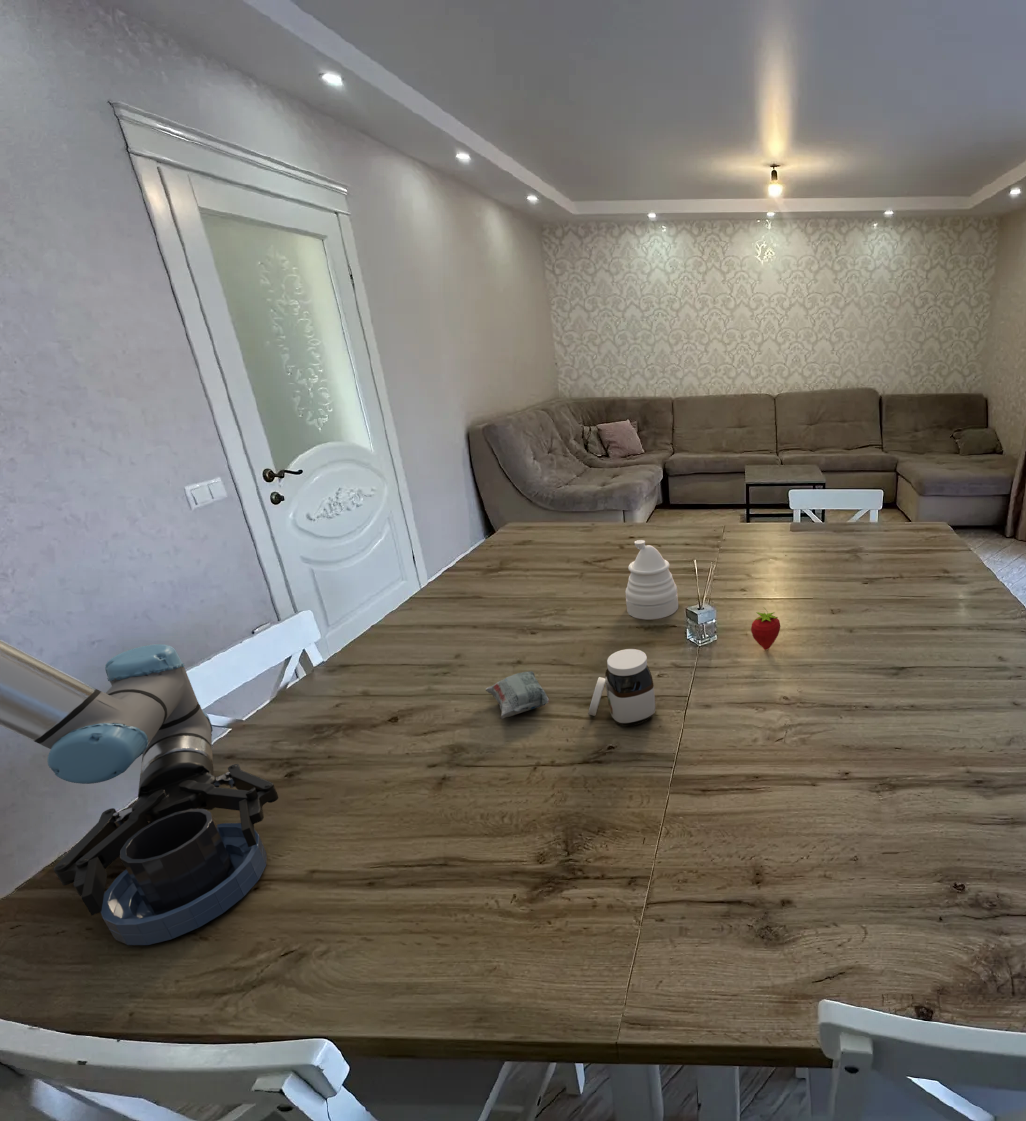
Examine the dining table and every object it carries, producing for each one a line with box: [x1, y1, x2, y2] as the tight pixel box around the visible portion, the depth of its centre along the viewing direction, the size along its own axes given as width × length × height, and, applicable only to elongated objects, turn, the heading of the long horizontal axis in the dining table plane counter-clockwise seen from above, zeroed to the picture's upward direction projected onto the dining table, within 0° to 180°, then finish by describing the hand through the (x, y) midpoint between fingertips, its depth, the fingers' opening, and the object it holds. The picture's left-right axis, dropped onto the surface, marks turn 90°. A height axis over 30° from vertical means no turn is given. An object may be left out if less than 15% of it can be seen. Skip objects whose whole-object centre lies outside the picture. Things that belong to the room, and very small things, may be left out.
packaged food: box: [485, 670, 550, 720], centre depth 108 cm, size 9×12×5 cm
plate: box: [100, 822, 268, 946], centre depth 72 cm, size 14×14×4 cm
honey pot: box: [624, 539, 679, 620], centre depth 144 cm, size 13×13×18 cm
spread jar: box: [587, 648, 656, 727], centre depth 104 cm, size 12×11×12 cm
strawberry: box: [750, 608, 782, 651], centre depth 126 cm, size 6×8×10 cm
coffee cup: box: [119, 809, 235, 916], centre depth 71 cm, size 8×8×9 cm
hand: (175, 869), depth 68 cm, fingers open, 13 cm apart
